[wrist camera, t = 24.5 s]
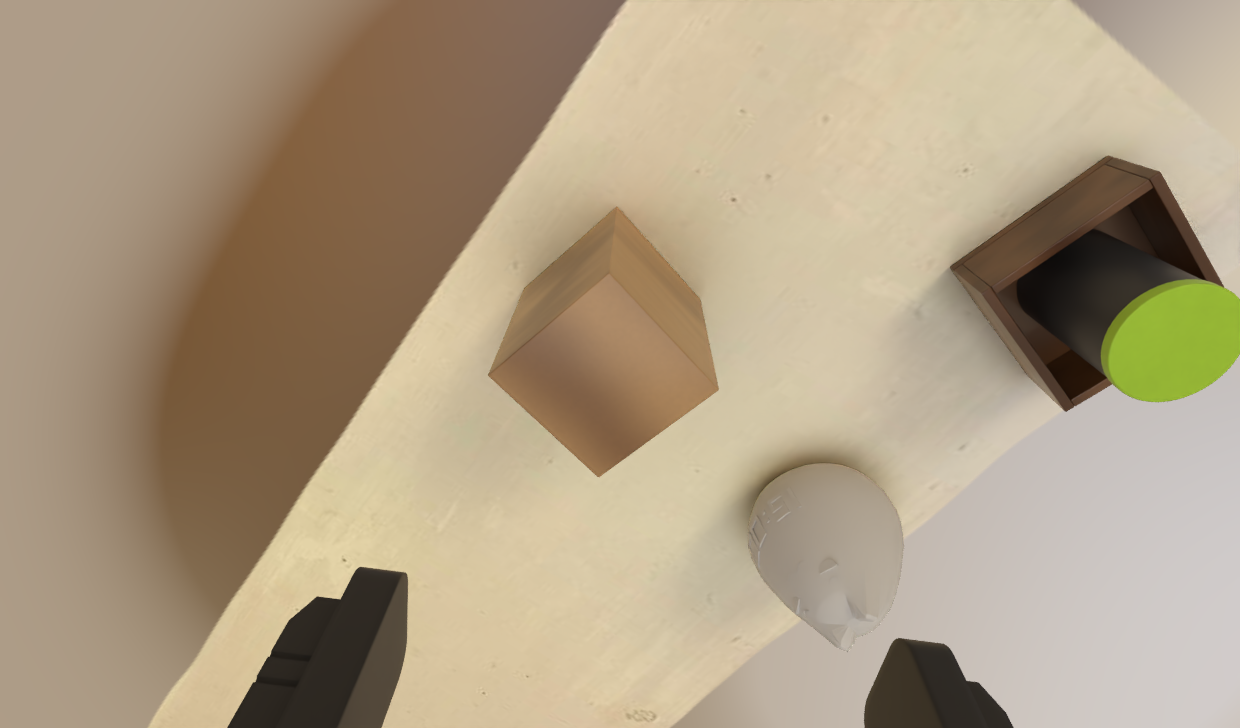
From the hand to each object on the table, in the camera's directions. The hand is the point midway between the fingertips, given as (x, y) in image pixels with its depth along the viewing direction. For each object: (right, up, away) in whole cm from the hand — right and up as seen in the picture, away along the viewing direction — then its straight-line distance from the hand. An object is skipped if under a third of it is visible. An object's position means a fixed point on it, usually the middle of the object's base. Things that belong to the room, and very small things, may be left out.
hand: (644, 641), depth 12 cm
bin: (+27, +10, +32) cm, 43 cm away
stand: (-1, +9, +34) cm, 35 cm away
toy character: (+14, -6, +41) cm, 43 cm away
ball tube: (+27, +10, +32) cm, 43 cm away
